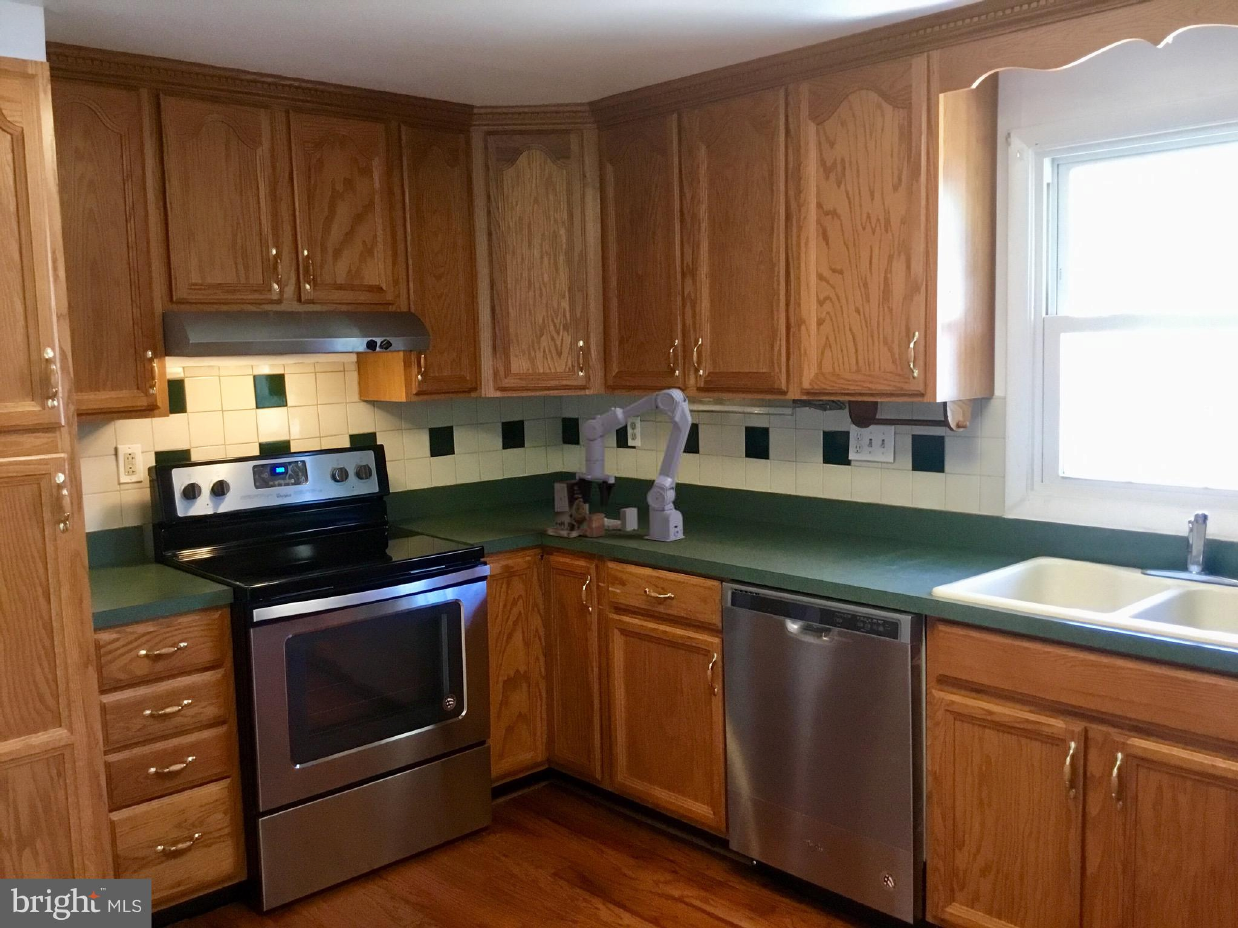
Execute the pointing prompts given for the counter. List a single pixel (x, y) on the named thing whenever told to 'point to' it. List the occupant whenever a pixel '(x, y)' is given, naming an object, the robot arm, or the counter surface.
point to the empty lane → (623, 520)
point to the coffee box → (569, 507)
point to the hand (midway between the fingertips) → (595, 504)
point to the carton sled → (593, 529)
